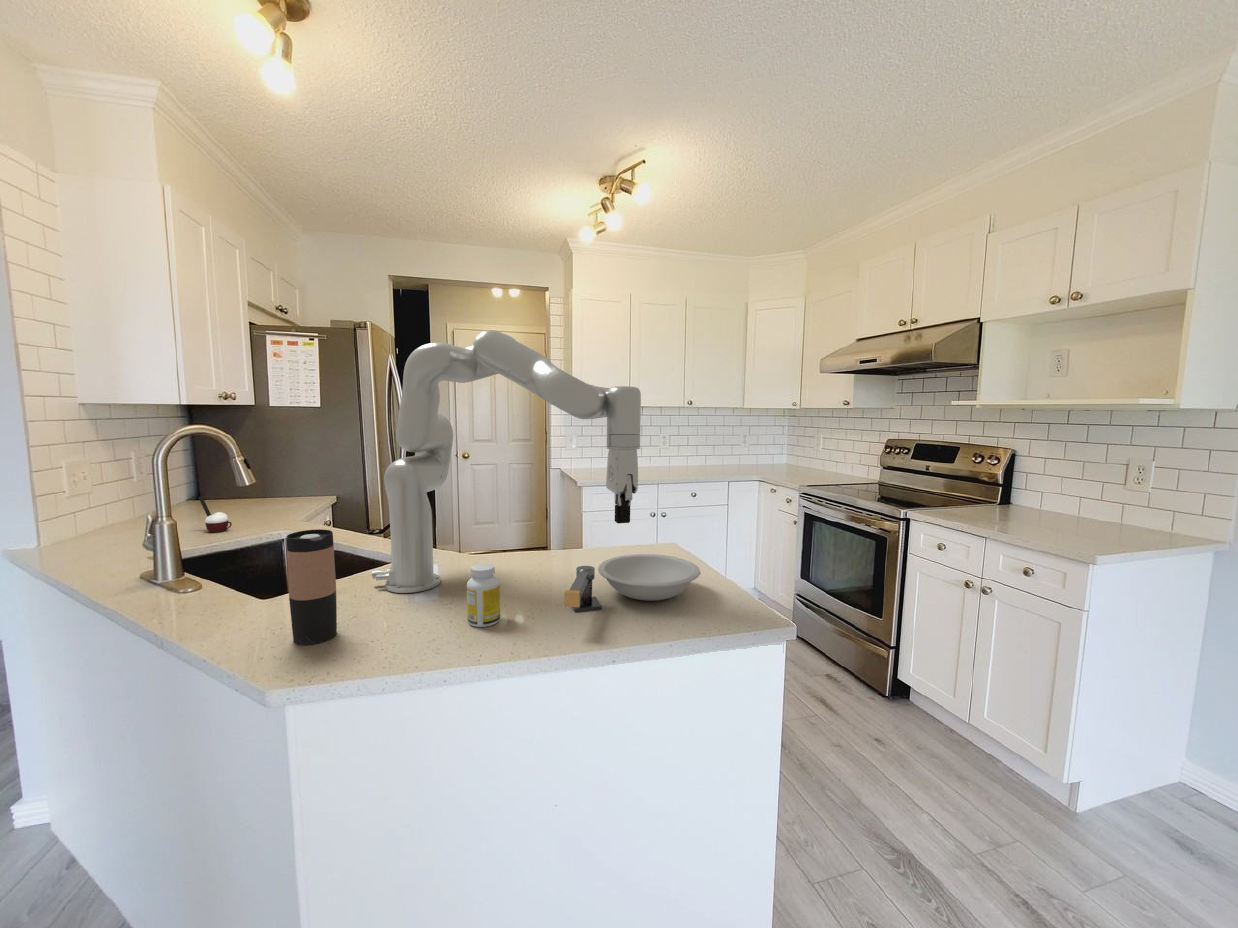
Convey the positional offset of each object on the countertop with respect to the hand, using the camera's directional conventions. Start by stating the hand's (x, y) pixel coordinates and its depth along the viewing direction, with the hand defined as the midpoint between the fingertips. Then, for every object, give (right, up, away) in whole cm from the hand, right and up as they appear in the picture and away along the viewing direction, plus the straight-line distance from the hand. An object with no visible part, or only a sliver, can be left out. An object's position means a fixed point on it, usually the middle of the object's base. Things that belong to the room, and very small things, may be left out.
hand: (622, 522), depth 117 cm
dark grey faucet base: (-8, -18, -3) cm, 20 cm away
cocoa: (-140, -10, +60) cm, 152 cm away
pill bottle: (-29, -19, -12) cm, 36 cm away
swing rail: (-9, -13, -10) cm, 19 cm away
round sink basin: (+6, -18, +5) cm, 20 cm away
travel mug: (-59, -20, -19) cm, 65 cm away
